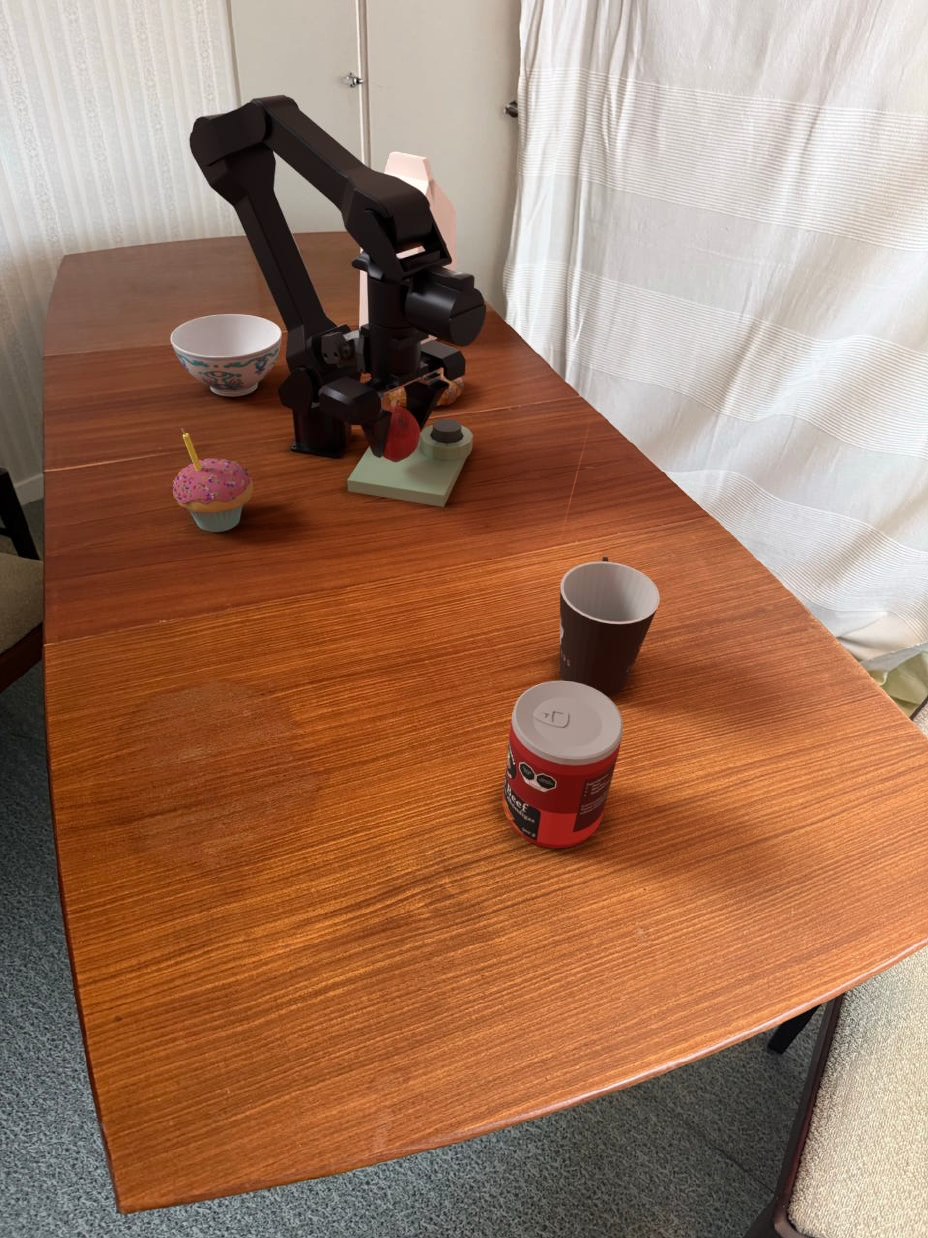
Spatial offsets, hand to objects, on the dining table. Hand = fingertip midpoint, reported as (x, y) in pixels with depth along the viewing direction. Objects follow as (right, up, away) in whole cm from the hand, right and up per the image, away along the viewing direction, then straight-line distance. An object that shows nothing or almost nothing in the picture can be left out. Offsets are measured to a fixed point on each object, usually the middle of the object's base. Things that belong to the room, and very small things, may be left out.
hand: (395, 446), depth 100 cm
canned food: (+15, -36, -33) cm, 51 cm away
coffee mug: (+21, -25, -20) cm, 39 cm away
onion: (0, -2, +1) cm, 2 cm away
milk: (-1, +28, +40) cm, 49 cm away
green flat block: (+2, -2, +5) cm, 6 cm away
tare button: (+6, +2, +6) cm, 8 cm away
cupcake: (-20, -9, -5) cm, 23 cm away
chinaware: (-25, +13, +21) cm, 35 cm away
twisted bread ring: (+2, +12, +21) cm, 25 cm away
